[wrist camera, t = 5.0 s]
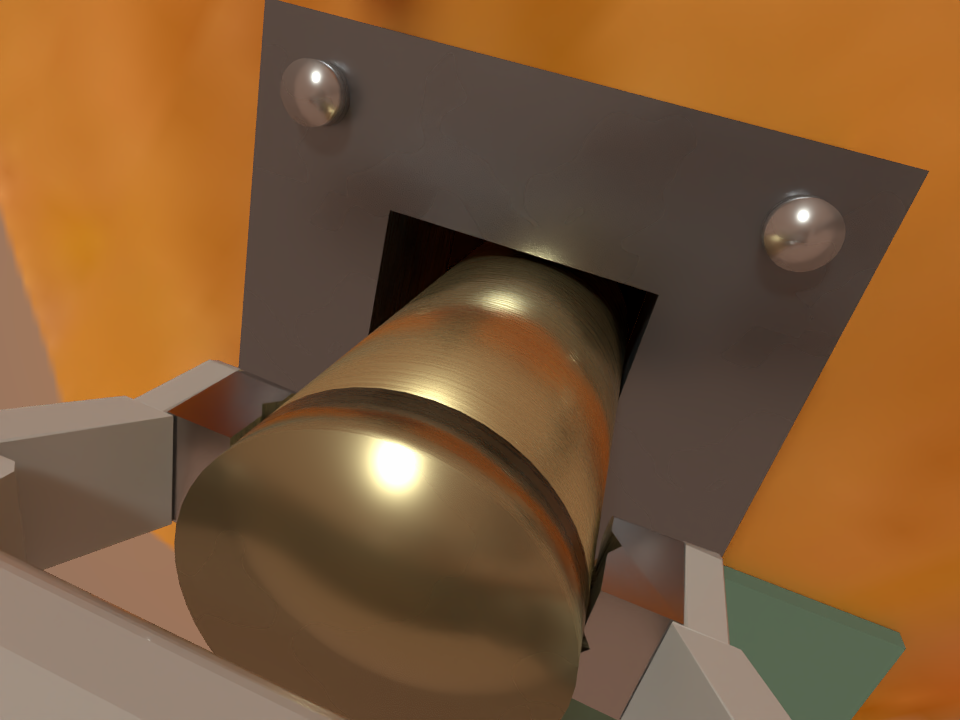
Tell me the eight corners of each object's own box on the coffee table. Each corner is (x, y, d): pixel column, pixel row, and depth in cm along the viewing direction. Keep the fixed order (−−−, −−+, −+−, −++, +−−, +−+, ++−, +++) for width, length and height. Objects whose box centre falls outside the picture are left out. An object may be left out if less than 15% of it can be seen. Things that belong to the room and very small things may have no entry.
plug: (656, 265, 14) (646, 536, 6) (593, 435, 16) (512, 830, 8) (463, 207, 15) (177, 365, 6) (426, 377, 17) (172, 676, 8)
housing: (852, 151, 14) (940, 173, 9) (665, 542, 19) (659, 689, 15) (379, 27, 16) (248, -8, 11) (323, 411, 21) (217, 501, 17)
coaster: (899, 632, 18) (905, 648, 18) (755, 822, 23) (757, 839, 22) (573, 507, 20) (569, 518, 19) (497, 706, 24) (493, 719, 24)
